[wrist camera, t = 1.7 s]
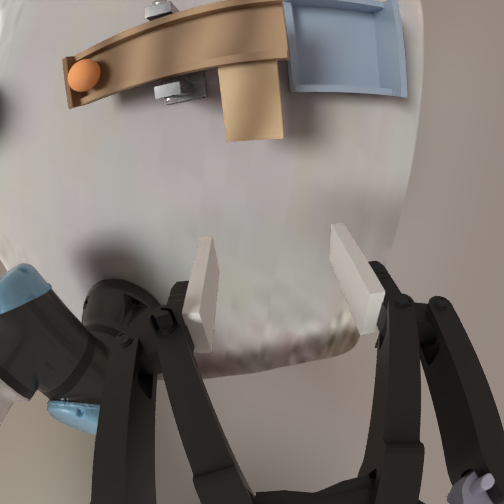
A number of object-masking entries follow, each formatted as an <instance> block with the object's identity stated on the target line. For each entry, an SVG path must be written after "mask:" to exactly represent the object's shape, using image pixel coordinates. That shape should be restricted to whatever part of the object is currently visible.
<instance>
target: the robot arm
mask: <svg viewBox="0 0 504 504" xmlns="http://www.w3.org/2000/svg"><path fill="white" fill-rule="evenodd" d="M329 261H330V263H331V266H332V268H333V270H334V272H335V275H336V277H337V279H338V282H339V284H340V286H341V289H342V291H343V294H344V296H345V298H346V301H347V303H348V306H349V308H350V311H351V313H352V316H353V318H354V321H355V323H356V326H357V328H358V331H359V333H360V336H363V335H368V334H373V333H375V329H376V326H377V327H378V329H379V331H380V333H379V336H378V339H377V342H376V345H375V348H377V364H376V377H375V387H374V397H373V405H372V413H371V420H370V427H369V434H368V440H367V445H366V450H365V456H364V460H363V463H362V466H361V468H360V470H359V474H358V477H357V478H354V479H350V480H345V481H342V482H339V483H338V484H335V485H333V486H331V487H328V488H326V489H323V490H321V491H318V492H315V493H308V492H296V491H287V490H282V491H269V492H256V496H254V494H253V492H252V490H251V488H250V486H249V485H248V483H247V481H246V479H245V477H244V475H243V473H242V471H241V469H240V467H239V465H238V463H237V461H236V459H235V456H234V454H233V452H232V450H231V448H230V446H229V443H228V441H227V439H226V437H225V434H224V432H223V430H222V428H221V425H220V423H219V420H218V418H217V415H216V413H215V410H214V408H213V406H212V403H211V401H210V398H209V395H208V393H207V390H206V388H205V385H204V382H203V380H202V377H201V374H200V372H199V369H198V366H197V363H196V361H195V358H194V355H193V351H194V348H195V350H196V353H212V346H213V334H214V323H215V312H216V302H217V292H218V282H219V273H220V272H219V267H218V262H217V257H216V252H215V246H214V241H213V236H203V237H200V239H199V243H198V247H197V251H196V255H195V259H194V263H193V267H192V271H191V275H190V280H189V281H182V282H176V284H175V285H174V286H173V287H172V289H171V292H170V296H169V299H168V302H167V305H163V306H160V305H159V303H158V302H157V301H156V300H155V299H154V298H153V297H152V296H151V295H150V294H149V293H148V292H146V291H145V290H143V289H142V288H140V287H138V286H136V285H134V284H132V283H129V282H126V281H122V280H114V279H111V280H103V281H100V282H98V283H96V284H95V285H94V286H93V287H92V288H91V289H90V291H89V293H88V295H87V296H86V298H85V301H84V306H83V314H82V323H81V322H80V321H79V320H78V319H77V318H76V317H75V316H74V315H73V313H72V312H71V311H70V310H69V309H68V308H67V307H66V305H65V304H64V303H63V302H62V301H61V299H60V298H59V297H58V296H57V295H56V293H55V292H54V291H53V290H52V286H51V285H50V284H49V283H47V282H46V281H45V280H44V279H43V277H42V276H41V275H40V274H39V273H38V271H37V270H36V269H35V268H34V267H33V266H32V265H30V264H27V263H22V264H19V265H17V266H15V267H14V268H12V269H11V270H9V271H8V272H7V273H5V274H4V275H3V276H2V277H0V425H1V423H2V422H3V420H4V418H5V416H6V415H7V413H8V411H9V410H10V408H11V406H12V405H13V403H14V402H17V401H30V399H31V398H32V396H33V395H34V393H35V392H36V390H39V391H40V392H42V393H43V394H44V395H45V396H47V397H48V398H49V401H48V402H47V411H48V412H49V414H51V416H53V417H54V418H55V419H57V420H58V421H60V422H62V423H64V424H66V425H68V426H70V427H72V428H75V429H77V430H80V431H83V432H86V433H90V434H94V435H96V441H95V449H94V460H93V474H92V495H91V497H92V498H91V503H90V504H156V488H155V406H156V404H155V402H156V384H157V374H158V373H162V372H163V377H164V381H165V385H166V388H167V392H168V396H169V400H170V403H171V407H172V410H173V414H174V417H175V420H176V424H177V427H178V430H179V434H180V436H181V440H182V443H183V446H184V449H185V452H186V455H187V458H188V460H189V463H190V466H191V469H192V472H193V483H194V486H195V489H196V491H197V494H198V497H199V499H200V501H201V504H425V503H423V502H421V501H420V500H418V499H419V493H420V487H421V480H422V472H423V463H424V445H423V443H421V442H420V417H421V416H420V415H421V375H420V360H421V363H422V366H423V370H424V373H425V376H426V379H427V383H428V386H429V390H430V394H431V397H432V401H433V405H434V409H435V413H436V417H437V421H438V425H439V430H440V434H441V439H442V445H443V450H444V455H445V461H446V466H447V471H448V475H449V478H450V481H451V483H452V485H453V487H452V489H451V491H450V493H449V494H448V496H447V501H448V502H449V503H450V504H504V430H503V427H502V423H501V420H500V416H499V413H498V410H497V407H496V404H495V401H494V398H493V395H492V393H491V390H490V387H489V384H488V382H487V379H486V376H485V374H484V371H483V369H482V367H481V364H480V362H479V359H478V357H477V355H476V353H475V350H474V348H473V346H472V344H471V342H470V340H469V337H468V335H467V333H466V331H465V329H464V327H463V325H462V323H461V322H460V319H459V317H458V315H457V313H456V312H455V310H454V308H453V306H452V304H451V303H450V302H449V300H447V299H446V298H444V297H441V296H434V297H432V298H431V299H430V300H429V303H428V304H425V303H415V302H414V301H413V299H412V298H411V297H410V296H408V295H406V294H402V293H401V292H400V290H399V289H398V287H397V286H396V284H395V283H394V281H393V279H392V278H391V276H390V275H389V273H388V271H387V270H386V268H385V267H384V266H383V265H382V264H381V263H379V262H378V261H371V262H368V261H367V260H366V258H365V256H364V255H363V253H362V252H361V250H360V248H359V247H358V245H357V244H356V242H355V241H354V239H353V237H352V236H351V234H350V233H349V231H348V230H347V228H346V227H345V225H344V224H343V223H336V224H331V242H330V260H329Z"/></svg>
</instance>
